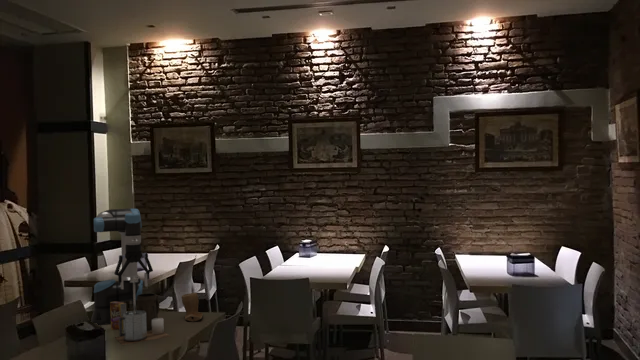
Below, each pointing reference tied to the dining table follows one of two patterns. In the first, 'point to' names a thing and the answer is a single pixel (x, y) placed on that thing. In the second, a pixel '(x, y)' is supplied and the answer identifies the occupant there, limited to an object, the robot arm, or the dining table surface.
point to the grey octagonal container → (133, 326)
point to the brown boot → (191, 307)
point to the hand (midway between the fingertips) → (134, 287)
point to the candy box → (117, 313)
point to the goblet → (134, 280)
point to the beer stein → (148, 307)
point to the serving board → (149, 337)
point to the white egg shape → (157, 326)
